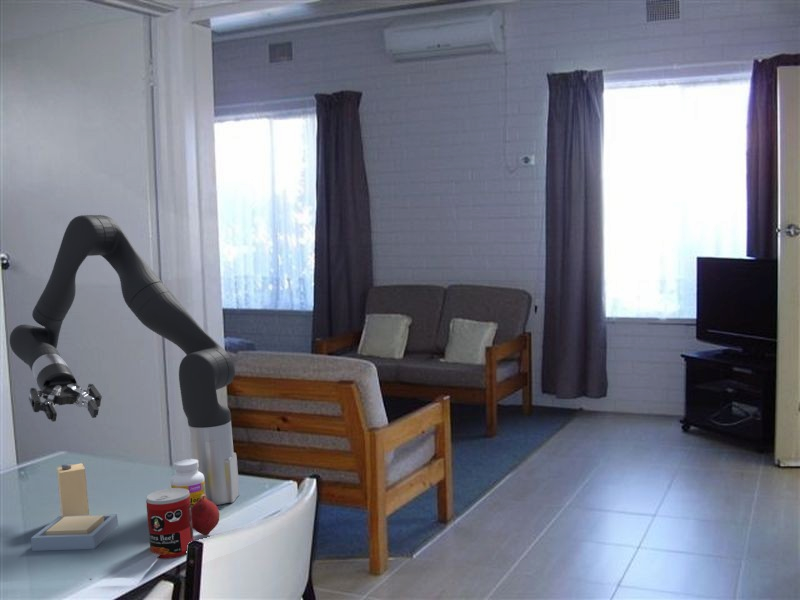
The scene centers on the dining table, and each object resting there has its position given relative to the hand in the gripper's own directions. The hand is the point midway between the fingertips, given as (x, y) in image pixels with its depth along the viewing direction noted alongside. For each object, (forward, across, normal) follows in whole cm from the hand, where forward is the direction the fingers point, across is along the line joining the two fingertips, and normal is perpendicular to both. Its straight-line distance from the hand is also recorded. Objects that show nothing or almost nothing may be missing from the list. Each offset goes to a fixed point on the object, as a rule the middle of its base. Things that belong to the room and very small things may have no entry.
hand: (75, 416), depth 190 cm
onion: (+38, +14, +5) cm, 41 cm away
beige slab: (+24, -5, +12) cm, 28 cm away
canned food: (+41, +6, +4) cm, 42 cm away
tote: (+25, -5, +13) cm, 28 cm away
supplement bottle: (+30, +16, +8) cm, 35 cm away
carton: (+14, -2, +17) cm, 23 cm away
